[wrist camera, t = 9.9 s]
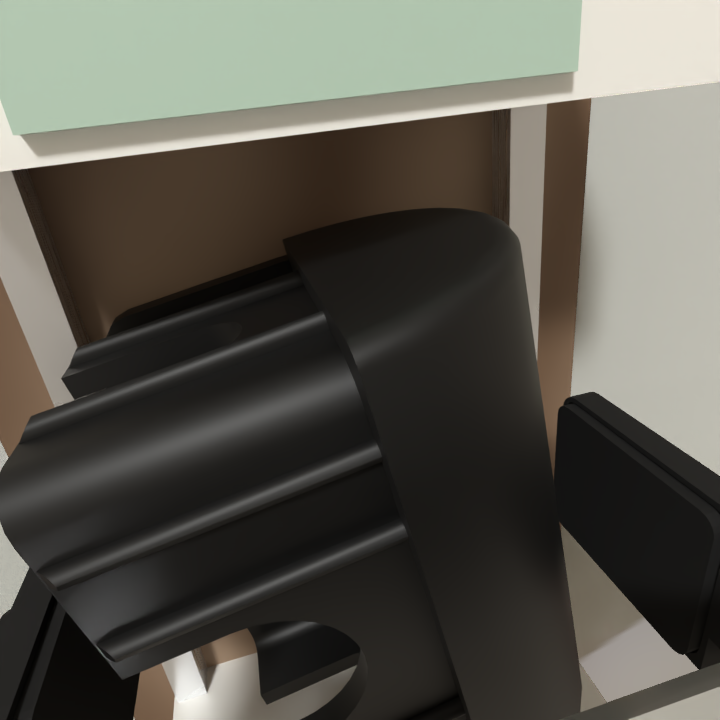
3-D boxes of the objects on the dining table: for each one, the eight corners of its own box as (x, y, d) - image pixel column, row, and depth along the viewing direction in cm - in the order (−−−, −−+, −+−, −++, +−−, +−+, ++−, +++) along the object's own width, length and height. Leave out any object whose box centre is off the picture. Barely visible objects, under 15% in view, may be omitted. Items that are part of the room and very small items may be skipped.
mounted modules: (534, -71, 10) (815, -257, 5) (516, 634, 18) (617, 803, 14) (-112, -34, 8) (-578, -275, 3) (200, 737, 16) (194, 975, 12)
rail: (529, -71, 10) (554, -88, 9) (513, 635, 18) (526, 656, 18) (-105, -35, 8) (-137, -52, 7) (204, 736, 16) (203, 764, 16)
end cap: (486, 516, 16) (653, 754, 10) (263, 610, 15) (294, 931, 9) (410, 185, 11) (635, 241, 5) (89, 295, 10) (-88, 511, 4)
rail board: (566, -55, 11) (603, -75, 10) (536, 596, 20) (554, 622, 19) (-172, -7, 9) (-227, -28, 8) (156, 715, 17) (152, 753, 16)
